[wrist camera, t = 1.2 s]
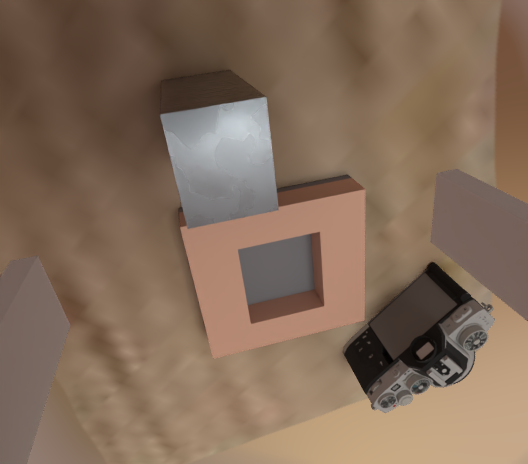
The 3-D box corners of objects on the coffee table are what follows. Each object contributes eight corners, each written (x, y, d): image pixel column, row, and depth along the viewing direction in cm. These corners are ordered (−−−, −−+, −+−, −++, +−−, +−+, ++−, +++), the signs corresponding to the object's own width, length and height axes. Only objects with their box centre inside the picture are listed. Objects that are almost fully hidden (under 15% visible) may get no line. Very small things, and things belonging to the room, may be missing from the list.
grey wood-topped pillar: (161, 80, 29) (159, 114, 18) (230, 69, 29) (266, 97, 19) (180, 160, 31) (187, 228, 21) (241, 149, 32) (278, 210, 22)
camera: (374, 377, 49) (418, 453, 40) (327, 348, 45) (366, 426, 36) (472, 291, 46) (543, 354, 37) (431, 251, 42) (501, 312, 33)
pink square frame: (178, 208, 33) (180, 227, 30) (348, 174, 35) (365, 189, 32) (209, 333, 40) (213, 358, 37) (350, 298, 42) (364, 320, 39)
